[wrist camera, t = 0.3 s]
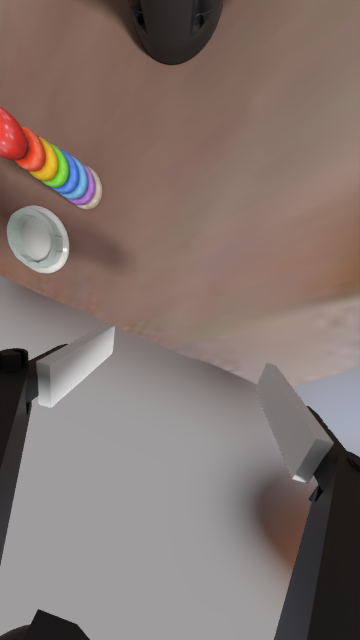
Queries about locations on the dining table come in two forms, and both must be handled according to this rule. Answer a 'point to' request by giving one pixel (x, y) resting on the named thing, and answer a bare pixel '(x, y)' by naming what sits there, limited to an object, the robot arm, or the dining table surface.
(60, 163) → the stacking toy
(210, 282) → the dining table surface
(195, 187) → the dining table surface
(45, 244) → the collar base
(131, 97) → the dining table surface
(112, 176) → the dining table surface
